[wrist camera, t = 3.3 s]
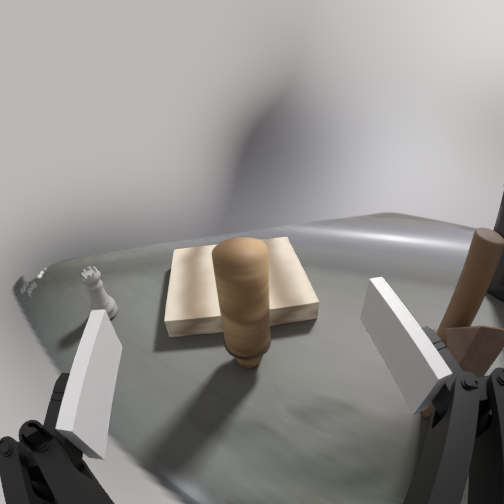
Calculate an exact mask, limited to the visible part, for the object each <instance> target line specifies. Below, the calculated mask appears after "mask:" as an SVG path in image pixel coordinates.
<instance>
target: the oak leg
mask: <svg viewBox="0 0 504 504" xmlns="http://www.w3.org/2000/svg"><path fill="white" fill-rule="evenodd" d="M212 261H213V268H214V275H215V282H216V288H217V295H218V301H219V308H220V314H221V320H222V326H223V332H224V338H225V339H224V344H225V348H226V350H227V351H228V353H229V354H230V355H232V356H234V357H235V358H236V360H237V361H238V363H239V365H241V366H242V367H245V368H253V367H255V366H257V365H258V364H259V363H260V362H261V358H262V357H263V354H265V353H266V352H267V351H268V349H269V348H270V345H271V336H270V308H269V258H268V247H267V246H266V244H265V243H263V242H262V241H260V240H257V239H254V238H246V237H240V238H232V239H228V240H225V241H223V242H221V243H219V244H218V245H216V246H215V247H214V248H213V250H212Z"/></svg>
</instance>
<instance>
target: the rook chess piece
mask: <svg viewBox="0 0 504 504" xmlns="http://www.w3.org/2000/svg"><path fill="white" fill-rule="evenodd" d="M87 269H88V270H87V271H86V270H85V269H84V270H82V273H81V276H82V277H81V282H82V283H83V284H85V285H86V290H87V291H88V292H89V295H90V299H91V311H92V310H103V309H105V310H106V312H107V315H108V317H109V319H112V318H113V317H114V316H115V315H116V313H117V310H118V307H117V305H116V304H115V301H114V300H113V299H112V298H111V297H110V296H109V295H107V293H106V292H105V290H104V288H103V286H102V281H101V280H100V275H101V273H100V272H99V271H98V270H97V269H96V268H95V267H94V266H93V267H92V269H91V268H90V267H87Z"/></svg>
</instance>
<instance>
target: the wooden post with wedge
mask: <svg viewBox="0 0 504 504" xmlns="http://www.w3.org/2000/svg"><path fill="white" fill-rule="evenodd" d="M503 249H504V239H503V238H502V236H500V235H499V234H498V233H496V232H495V231H493V230H490V229H487V228H477V229H476V230H475V232H474V235H473V239H472V242H471V245H470V249H469V252H468V255H467V258H466V261H465V264H464V267H463V270H462V273H461V275H460V278H459V281H458V283H457V286H456V289H455V291H454V294H453V296H452V299H451V301H450V304H449V306H448V308H447V311H446V313H445V315H444V317H443V320H442V322H441V324H440V326H439V328H438V330H433V331H435V332H436V333H437V335H438V336H439V337H440V339H441V341H442V342H443V343H444V344H445V346H446V348H447V349H448V350H449V351H450V353H451V354H452V356H453V357H454V358H455V360H456V361H457V363H458V364H459V366H460V367H461V369H462V370H463V371H467V372H471V373H473V374H474V375H476V376H477V377H481V376H484V375H485V373H486V372H487V371H488V369H489V368H490V366H491V365H492V364H493V362H494V361H495V359H496V358H497V356H498V355H499V353H500V352H501V350H502V349H503V347H504V329H502V328H495V327H489V326H471V324H472V322H473V320H474V318H475V316H476V314H477V312H478V310H479V308H480V305H481V303H482V301H483V299H484V297H485V294H486V292H487V290H488V288H489V285H490V283H491V280H492V278H493V276H494V273H495V270H496V268H497V265H498V263H499V260H500V257H501V254H502V252H503ZM433 408H434V405H433V403H432V402H431V404H430V405H429V406H428V408H427V409H426V410H423V411H422V417H427V415H428V414H429V413H430V412H431V410H432V409H433ZM430 418H431V416H430Z"/></svg>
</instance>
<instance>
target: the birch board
mask: <svg viewBox="0 0 504 504" xmlns="http://www.w3.org/2000/svg"><path fill="white" fill-rule="evenodd" d="M260 241H262V242H263V243H265V244H266V246H267V247H268V258H269V308H270V326H273V325H280V324H286V323H293V322H299V321H305V320H311V319H317V316H318V308H319V300H318V298H317V296H316V294H315V292H314V290H313V288H312V286H311V284H310V282H309V280H308V278H307V276H306V274H305V272H304V270H303V268H302V266H301V264H300V262H299V260H298V258H297V256H296V254H295V252H294V250H293V248H292V246H291V244H290V242H289V240H288V238H287V237H281V238H272V239H263V240H260ZM215 246H216V245H210V246H201V247H192V248H184V249H176V250H174V255H173V261H172V268H171V274H170V281H169V288H168V295H167V303H166V311H165V319H164V322H165V325H166V328H167V331H168V334H169V337H179V336H190V335H201V334H210V333H219V332H223V326H222V320H221V314H220V308H219V301H218V295H217V288H216V282H215V275H214V268H213V261H212V250H213V248H214V247H215Z"/></svg>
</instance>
